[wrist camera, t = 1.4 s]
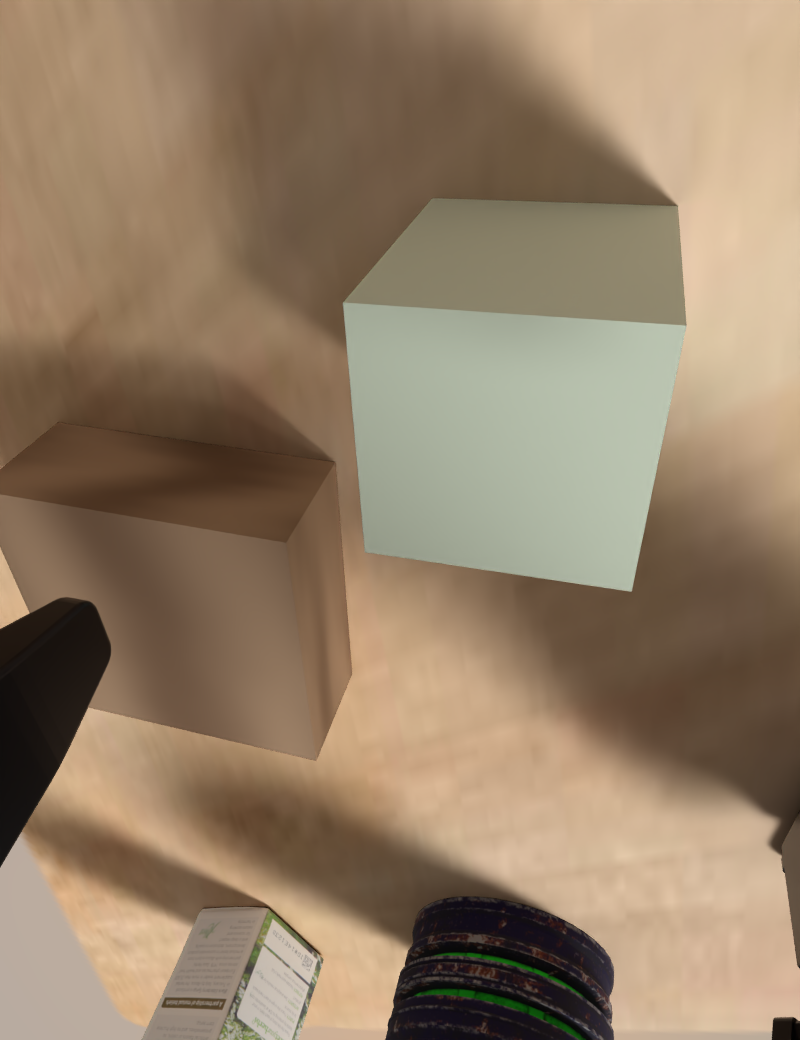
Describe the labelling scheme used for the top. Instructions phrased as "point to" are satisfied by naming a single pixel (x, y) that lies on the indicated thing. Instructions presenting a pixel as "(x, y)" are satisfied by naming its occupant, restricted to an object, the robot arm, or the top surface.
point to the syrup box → (238, 980)
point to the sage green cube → (517, 385)
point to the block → (191, 577)
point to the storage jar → (501, 976)
